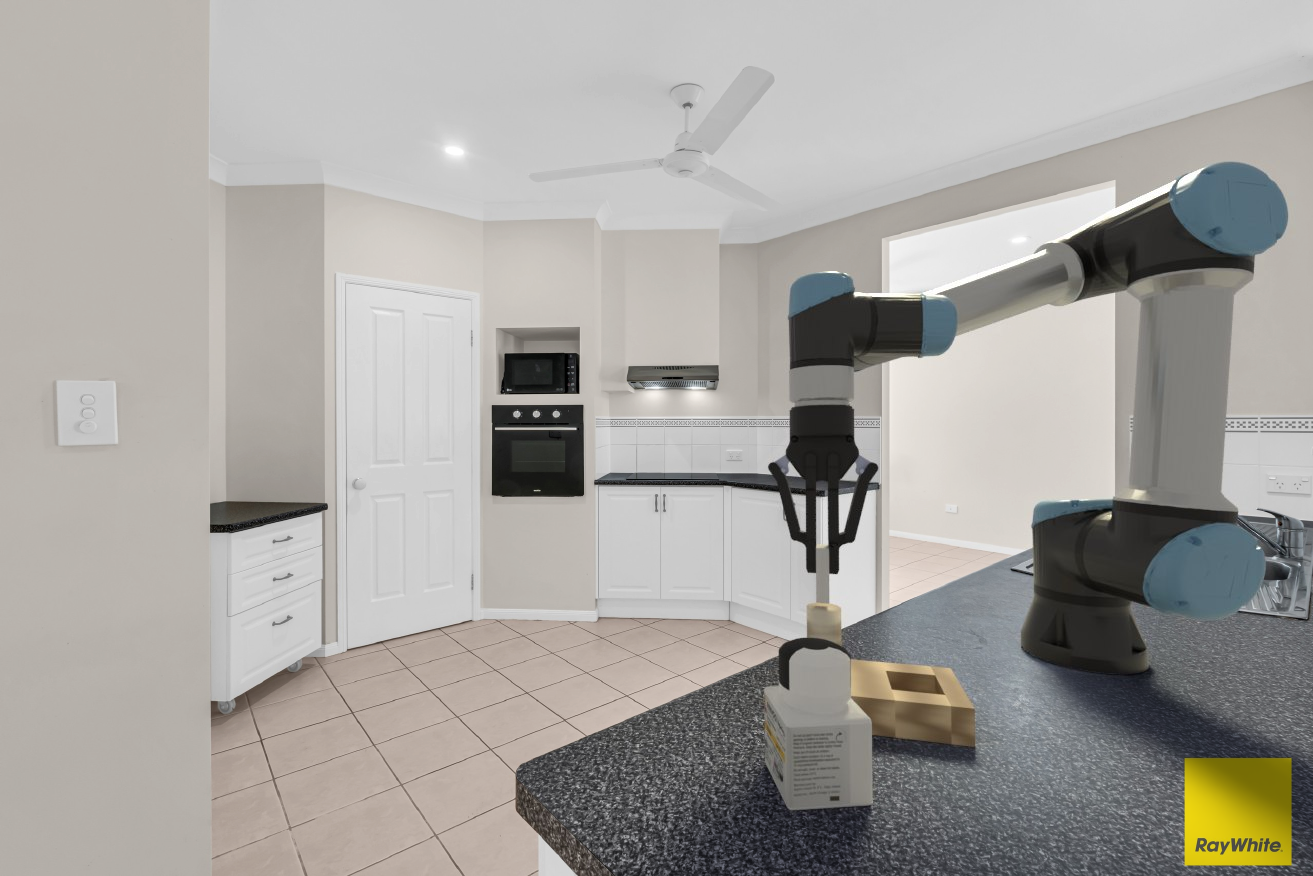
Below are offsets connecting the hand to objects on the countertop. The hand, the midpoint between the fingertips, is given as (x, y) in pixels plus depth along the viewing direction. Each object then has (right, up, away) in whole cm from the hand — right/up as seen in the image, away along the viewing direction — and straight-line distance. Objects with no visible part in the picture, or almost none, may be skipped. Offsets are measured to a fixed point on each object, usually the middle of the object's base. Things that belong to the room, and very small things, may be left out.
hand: (822, 600), depth 69 cm
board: (+5, -13, -1) cm, 14 cm away
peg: (0, -13, 0) cm, 13 cm away
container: (-5, -13, -15) cm, 21 cm away
